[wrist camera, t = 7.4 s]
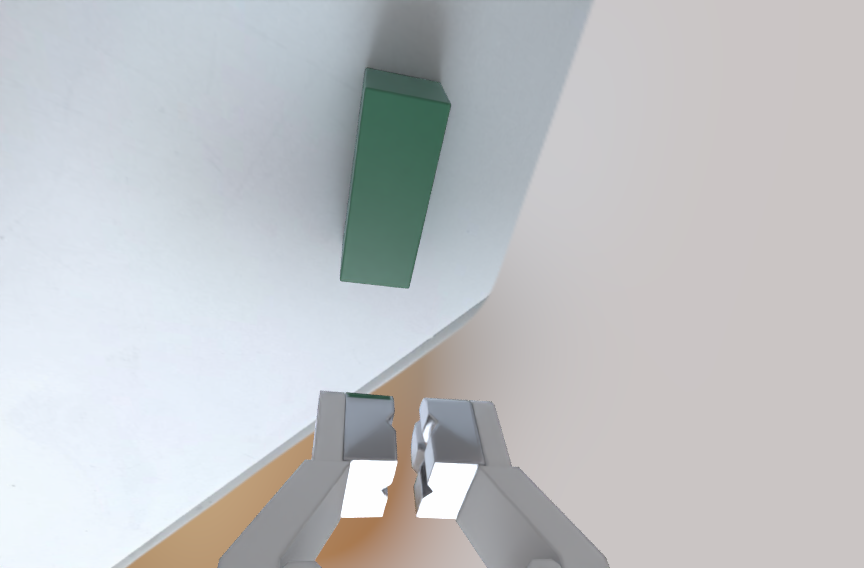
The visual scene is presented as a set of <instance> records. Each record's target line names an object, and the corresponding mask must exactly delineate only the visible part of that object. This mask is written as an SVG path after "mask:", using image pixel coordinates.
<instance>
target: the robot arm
mask: <svg viewBox="0 0 864 568" xmlns="http://www.w3.org/2000/svg"><path fill="white" fill-rule="evenodd" d="M394 409H395V408H394V399H393V396H382V395H371V394H360V393H348V392H346V393H344V392H333V391H320V395H319V401H318V409H317V418H316V426H315V434H314V442H313V450H312V460H305V461H304V462H303V463H302V464H301V465H300V466H299V467H298V469H297V470H296V471H295V472H294V473H293V474H292V476H291V477H290V478H289V479H288V480H287V481H286V482H285V484H284V485H283V486H282V487H281V488H280V489H279V491H278V492H277V493H276V494H275V495H274V496H273V498H272V499H271V500H270V501H269V502H268V503H267V505H266V506H265V507H264V508H263V509H262V510H261V511H260V513H259V514H258V515H257V516H256V517H255V518H254V520H253V521H252V522H251V523H250V524H249V525H248V526H247V528H246V529H245V530H244V531H243V532H242V533H241V535H240V536H239V537H238V538H237V539H236V540H235V542H234V543H233V544H232V545H231V546H230V547H229V549H228V550H227V551H226V552H225V553H224V554H223V555H222V557H221V558H220V559H219V563H218V568H322V567H321V566H320V565H319V564H317V562H315V559H316V557H317V556H318V554H319V553H320V551H321V550H322V548H323V546H324V544H325V543H326V541H327V540H328V538H329V537H330V535H331V534H332V532H333V530H334V529H335V527H336V526H337V524H338V523H339V521H340V517H382V515H383V512H384V508H385V505H386V501H387V498H388V497H387V496H388V493H387V486H388V485H390V484H391V483H392V480H393V476H394V472H395V469H396V465H397V443H396V431H395V429H394V428H393V427H392V426H391V425H392V421H393V417H394V412H395V410H394ZM419 412H420V421H418V422H417V423H415V426H414V430H413V434H412V443H411V463H412V469H413V470H414V471H415V472H416V473H417V478H416V481H415V484H414V497H415V507H416V517H427V518H453V519H454V518H455V519H456V522H457V523H458V525H459V526H460V528H461V529H462V531H463V532H464V534H465V535H466V537H467V538H468V540H469V541H470V543H471V544H472V546H473V547H474V549H475V550H476V552H477V553H478V555H479V556H480V558H481V559H482V561H483V562H484V563H485V565H486V567H487V568H610V567H609V564H608V562H607V559H606V557H605V556H604V555H603V554H602V553H601V552H600V551H599V550H598V549H597V548H596V547H595V545H594V544H593V543H592V542H591V541H590V540H589V539H588V538H587V537H586V536H585V535H584V534H583V533H582V532H581V531H580V530H579V529H578V528H577V527H576V526H575V525H574V524H573V523H572V522H571V521H570V520H569V519H568V518H567V517H566V516H565V515H564V513H563V512H562V511H561V510H560V509H559V508H558V507H557V506H556V505H555V504H554V503H553V502H552V501H551V500H550V499H549V498H548V497H547V496H546V495H545V494H544V493H543V492H542V491H541V490H540V489H539V488H538V487H537V486H536V485H535V483H533V482H532V480H531V479H530V478H529V477H528V476H527V475H526V474H525V473H524V472H523V471H522V470H521V469H520V468H519V467H512V465H511V462H510V458H509V454H508V451H507V447H506V444H505V440H504V437H503V433H502V429H501V426H500V423H499V419H498V415H497V412H496V408H495V405H494V404H493V403H492V402H490V401H473V400H470V401H468V400H458V399H457V400H456V399H439V398H437V399H436V398H424V399H423V400H422V402H421V405H420V409H419Z"/></svg>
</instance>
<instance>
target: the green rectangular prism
mask: <svg viewBox="0 0 864 568" xmlns="http://www.w3.org/2000/svg"><path fill="white" fill-rule="evenodd" d="M450 108H451V103H450V101H449V99H448V97H447V95H446V93H445V91H444V89H443V87H442V85H441V83H440V82H435V81H430V80H425V79H420V78H415V77H410V76H405V75H400V74H395V73H390V72H386V71H381V70H376V69H371V68H366V69H365V73H364V81H363V89H362V97H361V104H360V112H359V120H358V128H357V135H356V143H355V151H354V159H353V167H352V174H351V182H350V190H349V198H348V205H347V213H346V221H345V229H344V237H343V244H342V257H341V270H340V281H344V282H353V283H362V284H371V285H380V286H389V287H398V288H409V286H410V282H411V278H412V273H413V269H414V265H415V260H416V256H417V252H418V247H419V243H420V239H421V234H422V230H423V226H424V221H425V217H426V212H427V208H428V204H429V199H430V195H431V191H432V186H433V182H434V178H435V173H436V169H437V165H438V160H439V156H440V152H441V147H442V143H443V138H444V134H445V130H446V125H447V121H448V117H449V112H450Z"/></svg>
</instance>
